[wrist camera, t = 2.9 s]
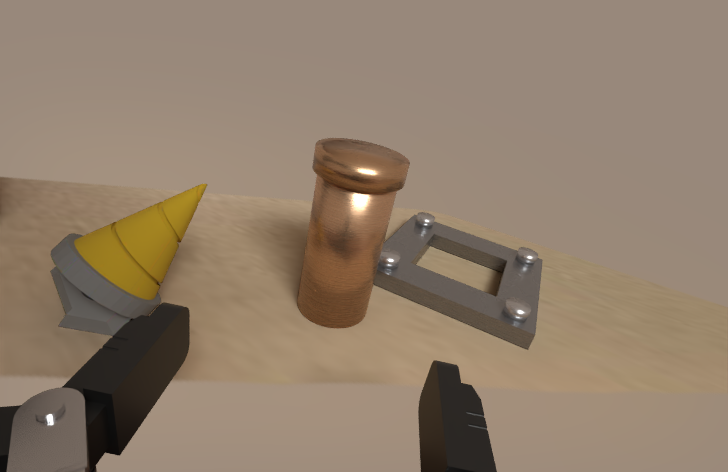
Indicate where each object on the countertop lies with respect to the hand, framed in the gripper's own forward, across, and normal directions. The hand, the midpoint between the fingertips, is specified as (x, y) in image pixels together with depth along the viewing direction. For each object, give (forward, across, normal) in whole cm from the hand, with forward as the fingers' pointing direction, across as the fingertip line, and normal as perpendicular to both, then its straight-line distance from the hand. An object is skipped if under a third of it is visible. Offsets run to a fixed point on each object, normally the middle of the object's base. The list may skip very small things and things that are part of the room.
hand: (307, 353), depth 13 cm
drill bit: (+7, +11, +6) cm, 15 cm away
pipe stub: (+11, 0, +6) cm, 12 cm away
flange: (+18, -9, +6) cm, 21 cm away
